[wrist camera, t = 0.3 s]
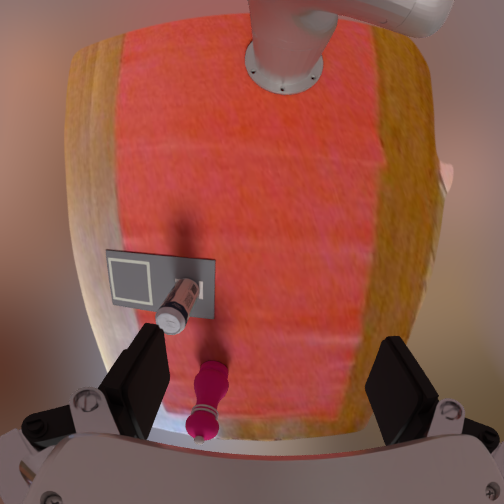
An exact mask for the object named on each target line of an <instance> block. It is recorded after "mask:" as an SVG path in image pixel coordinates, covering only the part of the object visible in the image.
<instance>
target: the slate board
mask: <svg viewBox="0 0 504 504" xmlns="http://www.w3.org/2000/svg"><path fill="white" fill-rule="evenodd" d="M106 258H107V267H108V275H109V282H110V289H111V296H112V302H113V305H118V306H123V307H129V308H135V309H141V310H147V311H154V312H157V311H158V310H159V308H160V307H161V305H162V304H163V302H164V300H165V299H166V297H167V296H168V294H169V293H170V291H171V290H172V288H173V287H174V285H175V284H176V283H177V281H179V280H180V279H183V278H188V279H191V280H193V281H194V282H196V283H197V285H198V286H199V289H200V294H199V297H198V299H197V301H196V303H195V306H194V308H193V310H192V312H191V314H190V317H198V318H207V319H214V299H215V260H206V259H194V258H183V257H172V256H161V255H151V254H140V253H130V252H120V251H110V250H106Z"/></svg>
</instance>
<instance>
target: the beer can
mask: <svg viewBox="0 0 504 504" xmlns="http://www.w3.org/2000/svg"><path fill="white" fill-rule="evenodd" d="M199 294H200V289H199V286H198V285H197V283H196V282H194V281H193V280H191V279H188V278H183V279H180V280H179V281H177V283H176V284H175V285H174V287H173V288H172V290H171V291H170V293H169V294H168V296H167V297H166V299H165V300H164V302H163V304H162V305H161V307H160V308H159V310H158V311H157V313H156V316H155V318H156V324H157V325H159V327H160V328H161V329H163V331H164V333H165V334H167V335H175V334H178V333H180V332H181V331H183V329H184V328H185V326H186V323H187V321H188V319H189V317H190V314H191V312H192V310H193V308H194V306H195V303H196V301H197V299H198V297H199Z"/></svg>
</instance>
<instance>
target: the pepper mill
mask: <svg viewBox="0 0 504 504" xmlns="http://www.w3.org/2000/svg"><path fill="white" fill-rule="evenodd" d="M227 378H228V369H227V367H226V366H225V365H223V364H222V363H220V362H217V361H207V362H205V363H203V364H202V365H201V367H200V371H199V373H198V374H197V375H196V377H195V380H194V389H195V393H196V397H197V403H196V405H195V406H194V407H193V408H192V412H191V415H190V416H189V417H188V418H187V420H186V430H187V432H188V434H189V435H190V436H192V437H193V438H194V441H195V443H196V444H198V445H201V444H203V443H204V441H205V440H210V439H212V438H214V437H215V436H216V435H217V433H218V430H219V424H218V422H217V419H218V411H217V406H218V403H219V401H220V400H221V399H222V398H223V397H224V396H225V395H226V393H227V391H228V387H229V383H228V380H227Z"/></svg>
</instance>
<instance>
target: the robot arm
mask: <svg viewBox="0 0 504 504" xmlns="http://www.w3.org/2000/svg"><path fill="white" fill-rule="evenodd" d="M454 1H455V0H248V4H249V9H250V18H251V27H252V37H253V41H252V42H251V43H250V44H249V46H248V48H247V50H246V54H245V65H246V69H247V72H248V74H249V76H250V77H251V79H252V80H253V81H254V82H255V83H256V84H257V85H258V86H260V87H261V88H263V89H265V90H267V91H269V92H272V93H275V94H281V95H292V94H298V93H301V92H304V91H306V90H307V89H309V88H311V87H312V86H313V85H314V84H315V83H316V82H317V81H318V79H319V77H320V75H321V73H322V70H323V58H322V55H321V54H322V52H323V51H324V49H325V47H326V45H327V44H328V42H329V40H330V38H331V36H332V35H333V33H334V31H335V29H336V26H337V22H338V15H343V16H347V17H351V18H354V19H358V20H361V21H364V22H368V23H371V24H374V25H377V26H380V27H383V28H385V29H389V30H391V31H394V32H397V33H400V34H403V35H406V36H409V37H414V38H424V37H428V36H430V35H432V34H434V33H435V32H436V31H438V30H439V29H440V28H441V26H442V25H443V24H444V22H445V20H446V19H447V17H448V15H449V13H450V11H451V8H452V6H453V3H454ZM252 72H255V73H254V74H252ZM311 78H314V80H312V79H311ZM281 89H283V90H284V91H281ZM169 381H170V372H169V366H168V359H167V353H166V345H165V338H164V331H163V329H161V328H160V327H159V325H157V324H150V323H145V324H144V325H143V327H142V328H141V330H140V331H139V333H138V334H137V335H136V337H135V338H134V340H133V341H132V343H131V344H130V346H129V347H128V349H125V350H123V351H122V353H121V354H120V356H119V357H118V359H117V360H116V362H115V363H114V365H113V366H112V368H111V369H110V371H109V372H108V374H107V375H106V377H105V378H104V380H103V381H102V383H101V384H100V386H99V387H98V389H96V388H93V387H83V388H80V389H78V390H76V391H75V392H74V393H73V394H72V395H71V397H70V400H69V405H66V406H62V407H58V408H55V409H51V410H47V411H43V412H38V413H34V414H31V415H29V416H28V417H26V418H25V419H24V421H23V423H22V426H21V427H22V428H21V429H20V430H17V428H15V429H13V430H11V431H10V432H8V433H6V434H4V435H2V436H0V496H1V498H2V500H3V501H4V503H5V504H504V442H502V443H501V444H500V443H499V442H500V438H499V435H498V433H497V432H496V431H495V430H494V429H493V428H491V427H489V426H485V425H483V424H480V423H478V422H475V421H473V420H470V419H467V418H465V410H464V407H463V406H462V405H461V404H460V403H459V402H457V401H456V400H454V399H443V400H441V401H440V402H439V400H438V396H439V395H438V393H437V392H436V390H435V389H434V387H433V385H432V384H431V382H430V381H429V379H428V378H427V376H426V375H425V373H424V371H423V370H422V368H421V367H420V365H419V364H418V362H417V361H416V359H415V358H414V356H413V355H412V353H411V352H410V350H409V349H408V347H407V346H406V345H405V343H404V342H403V340H402V339H401V337H400V336H388V337H386V338H385V340H383V341H382V342H381V345H380V348H379V351H378V354H377V356H376V359H375V362H374V364H373V367H372V369H371V372H370V374H369V377H368V379H367V382H366V384H365V391H366V393H367V396H368V399H369V401H370V404H371V407H372V409H373V412H374V414H375V417H376V420H377V423H378V426H379V428H380V431H381V434H382V437H383V440H384V442H385V445H386V446H383V447H377V448H371V449H365V450H359V451H351V452H342V453H332V454H320V455H302V456H259V455H241V454H229V453H219V452H210V451H203V450H196V449H190V448H184V447H177V446H172V445H166V444H162V443H157V442H152V441H148V440H146V439H147V438H148V436H149V433H150V430H151V428H152V425H153V423H154V420H155V417H156V415H157V412H158V410H159V407H160V404H161V402H162V399H163V397H164V394H165V392H166V389H167V387H168V384H169ZM143 439H144V440H143Z"/></svg>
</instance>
